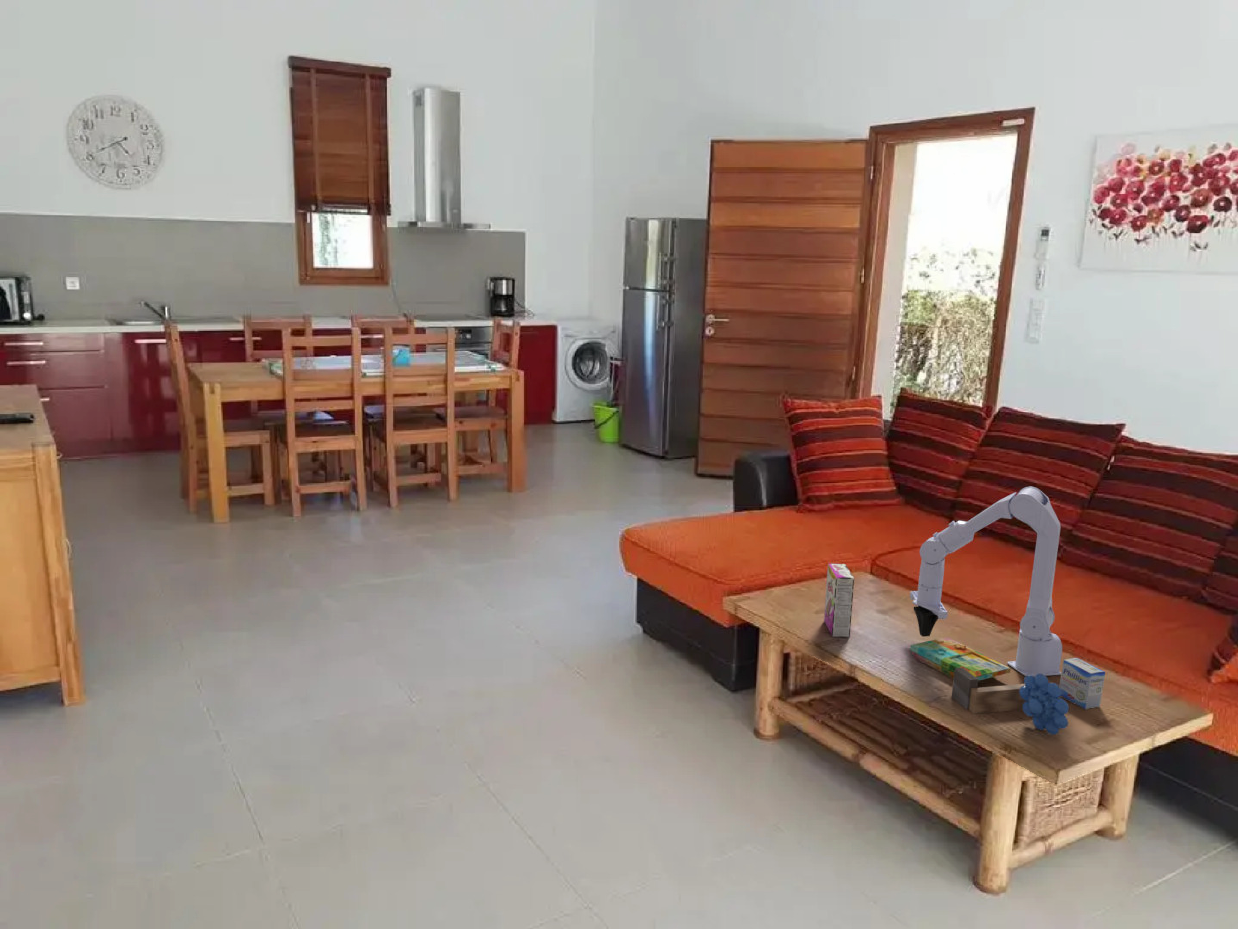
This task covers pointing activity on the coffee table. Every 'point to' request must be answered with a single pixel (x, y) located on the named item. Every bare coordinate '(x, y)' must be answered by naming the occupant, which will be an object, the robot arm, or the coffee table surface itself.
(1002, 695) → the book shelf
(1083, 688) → the medicine box
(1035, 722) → the grapes
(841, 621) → the candy bar box
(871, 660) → the coffee table surface
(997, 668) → the puzzle game
